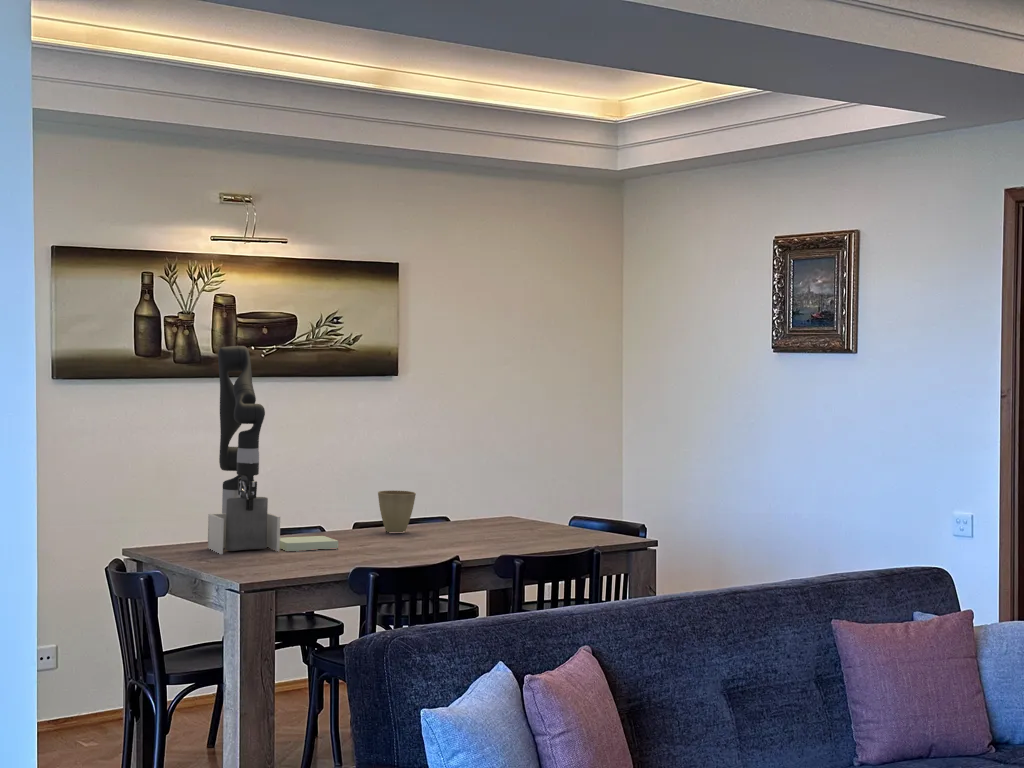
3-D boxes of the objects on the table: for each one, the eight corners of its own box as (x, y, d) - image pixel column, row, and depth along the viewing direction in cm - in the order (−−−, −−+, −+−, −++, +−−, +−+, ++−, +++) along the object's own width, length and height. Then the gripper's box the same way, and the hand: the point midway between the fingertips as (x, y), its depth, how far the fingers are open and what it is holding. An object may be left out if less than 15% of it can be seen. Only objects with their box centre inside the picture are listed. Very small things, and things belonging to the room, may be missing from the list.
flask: (261, 546, 433) (262, 489, 433) (269, 548, 429) (270, 490, 428) (221, 549, 424) (223, 491, 423) (229, 551, 419) (230, 492, 419)
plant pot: (370, 533, 480) (371, 492, 480) (385, 529, 495) (386, 489, 494) (406, 536, 476) (407, 495, 476) (420, 531, 490) (421, 491, 490)
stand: (273, 546, 438) (273, 538, 438) (323, 544, 448) (323, 535, 448) (286, 551, 426) (287, 543, 426) (338, 549, 436) (338, 540, 436)
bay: (207, 548, 429) (208, 514, 429) (265, 545, 439) (266, 512, 439) (219, 554, 416) (220, 518, 416) (279, 551, 427) (280, 516, 427)
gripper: (231, 459, 430) (229, 507, 430) (243, 463, 418) (242, 512, 418) (251, 459, 434) (250, 506, 434) (265, 462, 421) (263, 511, 422)
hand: (246, 509), depth 426 cm, fingers closed on flask, 6 cm apart
